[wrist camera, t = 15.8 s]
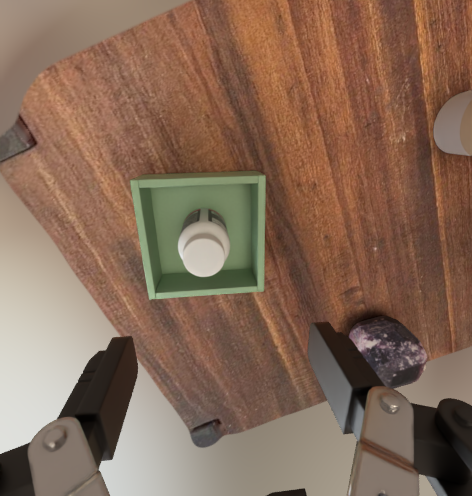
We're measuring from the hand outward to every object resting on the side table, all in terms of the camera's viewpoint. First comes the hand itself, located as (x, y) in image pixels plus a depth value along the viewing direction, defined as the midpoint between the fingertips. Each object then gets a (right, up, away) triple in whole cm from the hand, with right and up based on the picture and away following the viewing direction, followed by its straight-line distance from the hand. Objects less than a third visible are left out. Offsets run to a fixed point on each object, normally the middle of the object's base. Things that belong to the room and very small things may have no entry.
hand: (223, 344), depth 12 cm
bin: (-4, +7, +22) cm, 24 cm away
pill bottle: (-3, +7, +22) cm, 23 cm away
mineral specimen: (+22, -9, +31) cm, 39 cm away
